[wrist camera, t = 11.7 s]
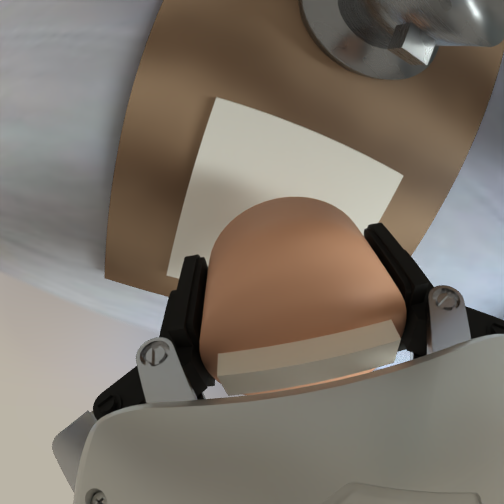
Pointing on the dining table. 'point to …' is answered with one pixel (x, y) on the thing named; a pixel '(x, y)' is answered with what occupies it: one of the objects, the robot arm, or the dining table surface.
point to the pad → (271, 176)
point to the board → (283, 106)
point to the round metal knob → (398, 31)
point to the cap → (296, 300)
